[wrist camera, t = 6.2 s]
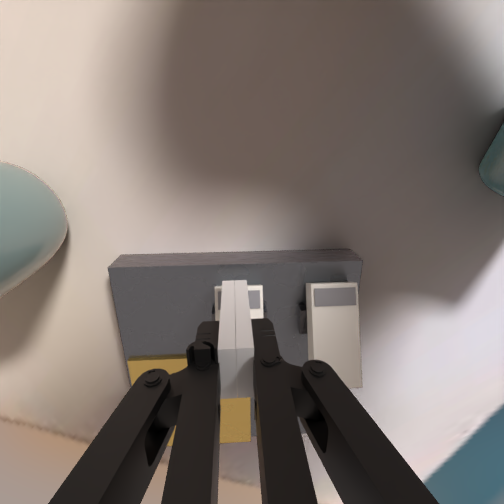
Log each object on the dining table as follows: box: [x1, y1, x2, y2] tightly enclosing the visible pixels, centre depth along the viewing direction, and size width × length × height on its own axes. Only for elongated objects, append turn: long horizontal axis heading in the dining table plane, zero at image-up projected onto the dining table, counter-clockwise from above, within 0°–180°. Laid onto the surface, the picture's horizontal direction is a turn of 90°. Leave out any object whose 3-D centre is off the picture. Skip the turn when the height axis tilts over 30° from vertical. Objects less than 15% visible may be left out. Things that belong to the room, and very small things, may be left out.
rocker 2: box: [306, 282, 362, 388], centre depth 20 cm, size 7×3×2 cm, turn 179°
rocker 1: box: [215, 284, 263, 364], centre depth 20 cm, size 7×3×2 cm, turn 179°
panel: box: [108, 249, 363, 446], centre depth 24 cm, size 17×18×3 cm
